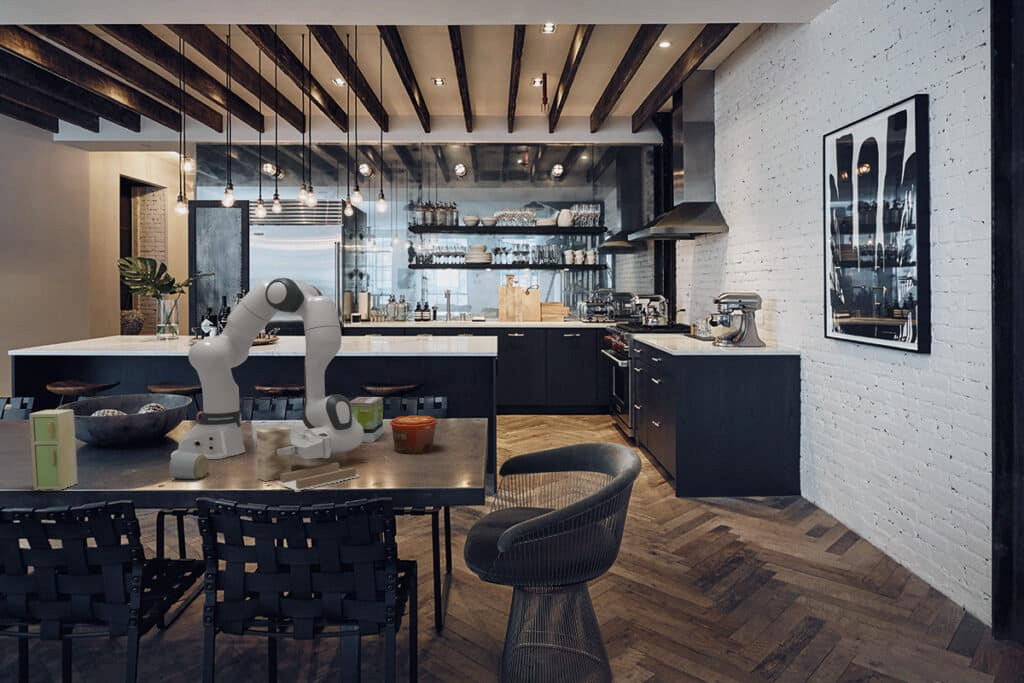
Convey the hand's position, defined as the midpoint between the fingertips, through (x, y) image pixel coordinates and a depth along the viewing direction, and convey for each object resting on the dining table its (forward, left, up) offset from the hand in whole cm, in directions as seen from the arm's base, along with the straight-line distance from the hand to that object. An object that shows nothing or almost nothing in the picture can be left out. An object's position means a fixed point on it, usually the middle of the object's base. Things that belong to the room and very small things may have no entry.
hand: (271, 450), depth 190 cm
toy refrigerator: (-56, +7, -8) cm, 57 cm away
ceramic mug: (-22, +8, -8) cm, 25 cm away
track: (+13, -7, -8) cm, 17 cm away
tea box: (+31, +48, -8) cm, 58 cm away
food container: (+45, +24, -8) cm, 52 cm away
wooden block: (+1, 0, -8) cm, 8 cm away
